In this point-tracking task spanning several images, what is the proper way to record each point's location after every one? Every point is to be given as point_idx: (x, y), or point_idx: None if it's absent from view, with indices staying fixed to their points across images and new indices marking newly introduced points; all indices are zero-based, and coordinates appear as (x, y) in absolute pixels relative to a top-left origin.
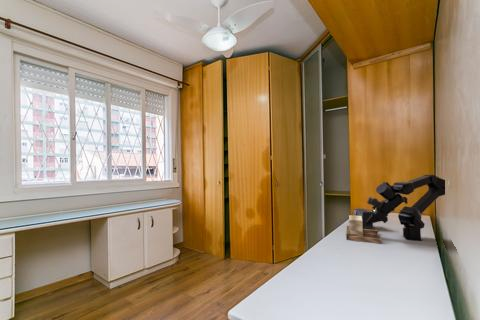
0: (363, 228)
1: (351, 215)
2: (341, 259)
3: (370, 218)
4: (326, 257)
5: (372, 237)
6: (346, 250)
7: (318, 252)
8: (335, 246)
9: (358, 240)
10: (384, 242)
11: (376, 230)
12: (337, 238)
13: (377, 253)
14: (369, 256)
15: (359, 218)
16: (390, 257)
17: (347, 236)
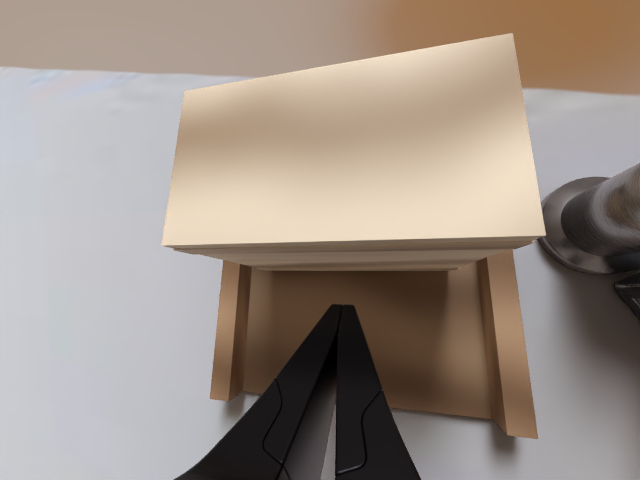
0: (628, 291)
1: (494, 67)
2: (7, 184)
3: (268, 391)
4: (20, 134)
5: None
6: (90, 191)
7: (59, 97)
8: (130, 140)
9: None
10: None
11: (518, 424)
12: None
13: (73, 332)
14: (38, 289)
15: (287, 205)
16: (34, 389)
17: None
